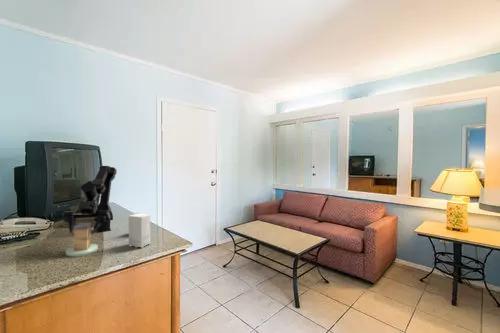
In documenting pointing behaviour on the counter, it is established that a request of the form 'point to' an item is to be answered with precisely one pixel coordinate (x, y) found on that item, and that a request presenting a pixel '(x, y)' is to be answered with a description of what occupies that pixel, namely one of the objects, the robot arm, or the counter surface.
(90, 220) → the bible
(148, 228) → the skincare box
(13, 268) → the counter surface
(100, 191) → the robot arm
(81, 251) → the sage green coaster
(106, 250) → the counter surface
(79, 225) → the grey cushioned footstool
